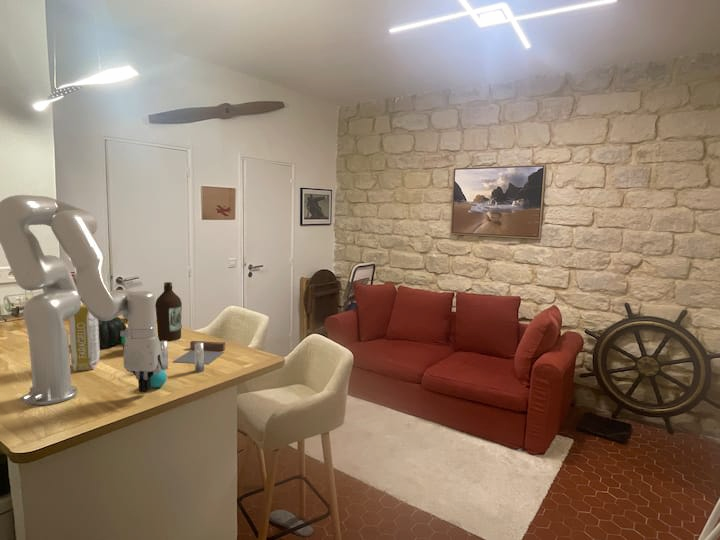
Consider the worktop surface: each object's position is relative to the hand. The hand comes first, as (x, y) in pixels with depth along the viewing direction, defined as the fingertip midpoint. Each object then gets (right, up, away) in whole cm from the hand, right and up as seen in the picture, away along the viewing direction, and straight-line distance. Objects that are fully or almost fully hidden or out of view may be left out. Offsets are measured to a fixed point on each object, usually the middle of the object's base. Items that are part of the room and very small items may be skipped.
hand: (144, 390), depth 136 cm
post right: (+9, +1, +22) cm, 24 cm away
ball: (+1, +2, +7) cm, 7 cm away
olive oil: (-18, +6, +61) cm, 64 cm away
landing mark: (+3, +3, +37) cm, 37 cm away
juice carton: (-32, +2, +23) cm, 40 cm away
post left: (-5, +2, +23) cm, 24 cm away
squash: (-40, +5, +49) cm, 63 cm away
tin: (-50, +11, +90) cm, 103 cm away
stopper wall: (+3, +4, +47) cm, 47 cm away
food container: (-22, +4, +41) cm, 47 cm away
